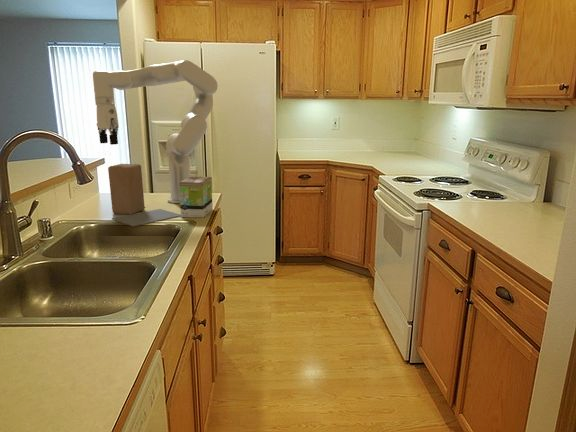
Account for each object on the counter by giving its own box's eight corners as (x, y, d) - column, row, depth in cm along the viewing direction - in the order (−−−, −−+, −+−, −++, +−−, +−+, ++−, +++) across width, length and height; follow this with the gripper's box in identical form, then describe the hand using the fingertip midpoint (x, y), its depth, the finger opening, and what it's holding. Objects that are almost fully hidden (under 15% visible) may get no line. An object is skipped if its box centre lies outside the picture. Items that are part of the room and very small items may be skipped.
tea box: (204, 218, 176) (203, 181, 173) (180, 217, 177) (178, 181, 173) (213, 209, 191) (211, 175, 187) (190, 209, 191) (188, 175, 188)
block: (133, 215, 181) (129, 167, 176) (111, 214, 183) (106, 166, 178) (145, 209, 190) (141, 164, 185) (124, 208, 192) (120, 163, 187)
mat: (160, 209, 190) (160, 208, 190) (182, 215, 179) (182, 214, 179) (111, 219, 174) (111, 218, 174) (132, 226, 164) (132, 225, 163)
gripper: (123, 101, 180) (127, 144, 184) (103, 101, 191) (107, 142, 195) (106, 101, 175) (110, 145, 179) (86, 101, 186) (91, 143, 190)
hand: (109, 143), depth 187 cm, fingers open, 8 cm apart
